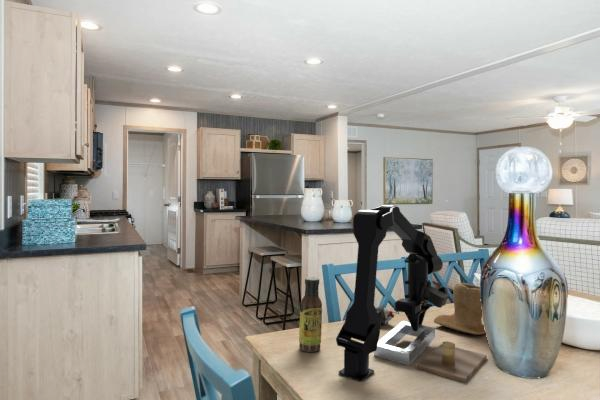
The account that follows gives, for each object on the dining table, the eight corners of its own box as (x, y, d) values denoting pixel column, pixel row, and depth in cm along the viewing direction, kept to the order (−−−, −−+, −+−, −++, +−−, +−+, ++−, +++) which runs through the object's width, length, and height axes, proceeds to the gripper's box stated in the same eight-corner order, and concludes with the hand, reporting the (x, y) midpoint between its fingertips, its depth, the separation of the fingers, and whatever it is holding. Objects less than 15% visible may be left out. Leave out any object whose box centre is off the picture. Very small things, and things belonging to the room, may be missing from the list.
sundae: (353, 309, 133) (399, 308, 131) (352, 303, 139) (396, 302, 138) (354, 328, 133) (400, 328, 131) (353, 322, 139) (397, 321, 138)
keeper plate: (465, 382, 93) (465, 357, 93) (415, 368, 101) (416, 344, 101) (486, 358, 107) (486, 336, 107) (441, 347, 115) (441, 326, 115)
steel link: (409, 365, 102) (408, 354, 102) (374, 355, 109) (373, 344, 108) (435, 337, 116) (435, 327, 116) (402, 330, 123) (402, 320, 122)
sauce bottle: (303, 354, 109) (303, 281, 109) (296, 346, 115) (296, 276, 115) (325, 351, 111) (325, 279, 111) (316, 343, 117) (317, 275, 117)
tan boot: (495, 332, 128) (496, 285, 128) (477, 340, 121) (478, 290, 120) (451, 320, 140) (452, 277, 140) (432, 327, 132) (433, 281, 132)
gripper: (432, 286, 106) (432, 345, 106) (456, 275, 120) (455, 327, 121) (393, 280, 113) (393, 336, 113) (420, 271, 127) (419, 320, 128)
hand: (416, 329), depth 118 cm, fingers closed on steel link, 2 cm apart
